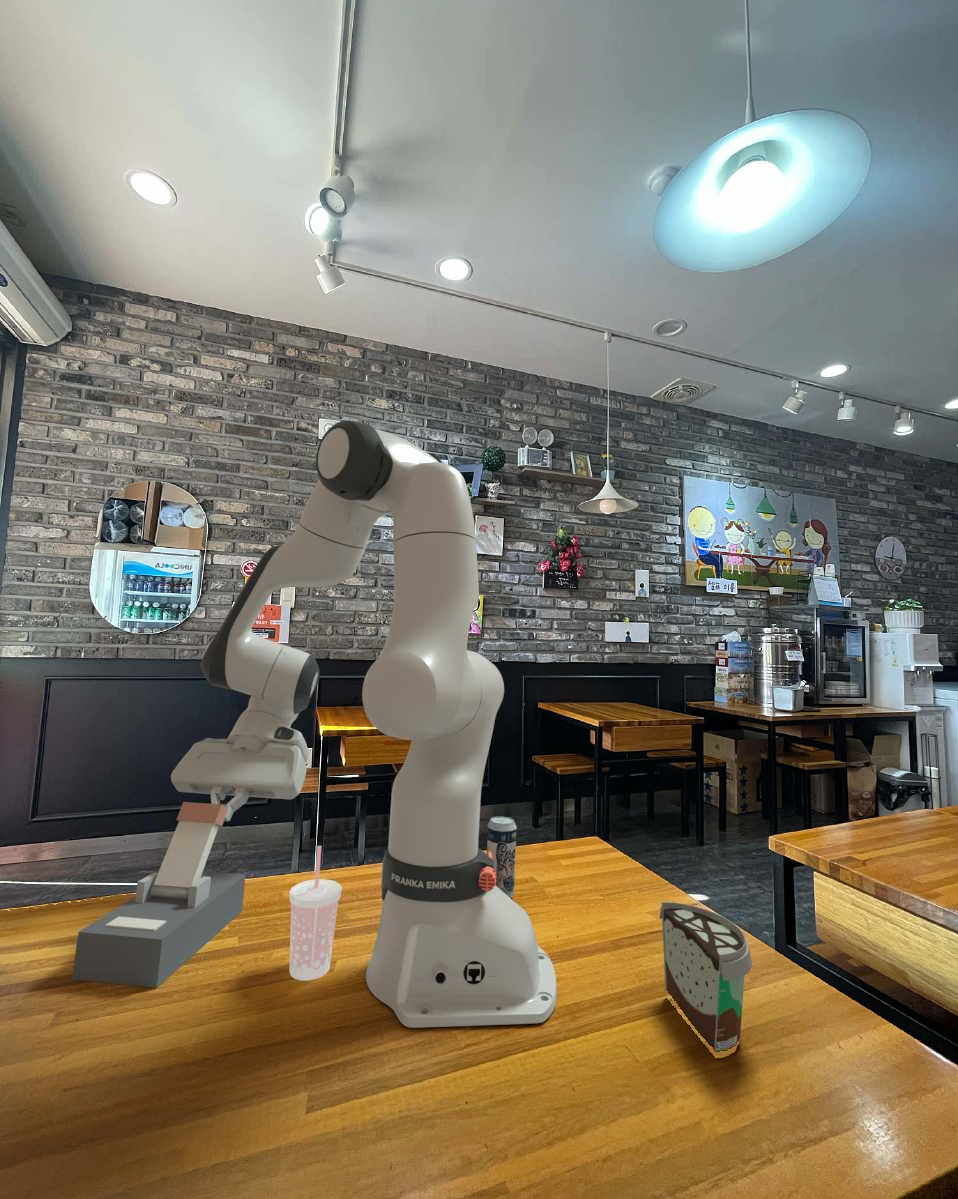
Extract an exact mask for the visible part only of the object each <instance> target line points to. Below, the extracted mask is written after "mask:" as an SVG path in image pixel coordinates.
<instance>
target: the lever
mask: <svg viewBox="0 0 958 1199" xmlns="http://www.w3.org/2000/svg"><path fill="white" fill-rule="evenodd" d="M220 804H221V803H220ZM220 804H211V803H203V802H192V801H191V802H190V801H189V802H188V801H183V802H182V805H181V807H180V810H179V811H178V812H179V813H178V814H177V817H176V821H178V824H177V825H176V828H175V830H174V833H173V834H172V838H171V840H170V844H169V845H168V848H167V850H166V853H165V856H164V858H163V861H162V863H161V865H160V867H159V870H158V872H157V873H158V875H157V878H156V880H155V883H154V886H153V887H152V889H151V896H157V897H169V898H181V899H188V896H189V887H190V885H192V884H193V883H195V882H196V881H198V880H199V879H200V878H201V875H202V872H203V871H204V869H205V866H206V864H207V861H208V857H209V854H210V852H211V850H212V846H213V844H214V842H215V838H216V835H217V834H218V833H217V832H218V830H219V827H223V825H224V823H225V821H224V819H225V817H226V814H227V811H228V809H227V808H226V807H224V806H223V805H224V804H221V805H220Z"/></svg>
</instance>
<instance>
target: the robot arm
mask: <svg viewBox="0 0 958 1199" xmlns="http://www.w3.org/2000/svg"><path fill="white" fill-rule="evenodd" d="M315 468H316V471H317V472H316V473H317V477H318V480H317V483H316V484H315V486H314V488H313V490H312V491H311V494H310V496H309V498H308V500H307V501H306V504H305V506H304V509H303V511H302V514H301V516H300V519H299V522H298V524H297V527H296V529H295V531H294V533H293V534H292V535H291V537H290V538H289V539H288V540H287V541H286V542H284V543H283V544H280V545H279V544H278V545H273V546H271V547H270V548H269V549H268V550H267V551H266V552H265V553H264V554H263V555H262V556H261V558H260V559H259V561H257V564H256V565H255V567H254V568H253V570H252V571H251V573H250V575H249V576H248V578H247V580H246V582H245V584H244V585H243V586H242V589H241V591H239V594H238V596H237V598H236V600H235V602H234V603H233V604H232V607H231V609H230V610H229V612H228V614H227V615H226V618H225V619H224V621H223V623H222V625H221V626H220V628H219V629H218V631H217V632H216V633H215V636H214V637H213V638H212V639H211V640H210V641H209V643H208V645H207V646H206V648H205V650H203V654H202V658H201V661H200V664H199V665H200V669H201V670H202V673H203V675H204V677H205V679H206V680H207V682H208V683H209V685H211V687H217V688H220V689H221V688H222V689H224V690H225V689H226V690H230V691H236V692H240V693H242V694H246V695H248V696H250V698H249V701H248V705H247V708H246V709H245V710H244V711H243V712H242V713H240V716H239V717H238V718H237V721H236V722H235V724H234V726H233V728H232V730H231V732H230V733H229V734H228V736H227V738H212V737H211V738H210V737H207V738H204V739H203V740H200V741H198V742H195V743H193V744H192V746H191V748H190V749H189V750H188V751H187V753H185V755H184V756H183V757H182V759H181V760H180V761H178V764H177V765H176V766H175V768H174V769H173V770H172V772H171V774H170V779H171V780H170V781H171V783H172V784H173V786H174V788H175V789H176V790H177V792H180V793H189V794H191V793H192V794H202V795H203V794H205V795H210V802H211V803H210V804H220V805H223V806H224V807H226V808H227V809H228V811H227V814H226V817H225V819H224V822H230V821H231V819H232V816H233V814H234V813H235V812H236V811H237V810H239V809H240V808H241V807H242V806H243V805H245V804H246V803H247V801H248V799H249V798H265V799H281V800H293V799H295V798H296V797H297V796H298V795H300V794H301V791H302V788H303V786H304V783H305V779H306V775H307V770H308V769H307V764H306V763H307V761H308V760H309V757H310V752H309V749H308V746H307V742H306V739H305V737H304V736H303V734H302V732H300V731H299V730H297V729H294V728H291V727H292V724H293V723H294V721H296V720H297V718H298V715H300V713H301V712H302V711H304V710H306V709H307V708H308V707H309V704H310V700H311V699H312V697H313V694H314V693H315V690H316V688H317V686H318V683H319V680H320V676H321V671H320V668H319V665H318V662H317V660H316V659H315V657H314V655H313V654H310V653H309V652H305V651H304V650H300V649H298V648H294V647H291V646H290V645H285V644H282V643H279V642H276V641H273V640H270V639H267V638H265V637H262V636H258V635H257V634H255V633H254V632H253V629H252V628H253V626H254V624H255V622H256V620H257V619H258V617H259V615H260V614H261V612H262V610H263V608H264V606H265V605H266V603H267V602H268V599H269V598H270V597H271V595H272V593H273V592H275V591H277V590H281V589H289V588H325V587H330V586H335V585H338V584H340V583H343V582H345V581H347V580H348V579H349V578H351V577H352V576H353V575H354V573H355V572H356V570H357V568H358V566H359V565H360V562H361V560H362V558H363V556H364V553H365V550H366V548H367V546H368V543H369V541H370V538H371V533H372V531H373V528H374V526H375V524H376V522H377V520H378V519H380V518H381V517H382V516H387V515H390V516H392V524H393V527H392V528H393V533H392V534H393V537H392V538H393V539H392V541H393V543H392V546H393V574H394V575H393V579H394V580H393V582H394V583H393V584H394V585H393V587H394V588H393V590H394V592H393V593H394V596H393V597H394V598H393V607H392V614H391V620H390V623H389V627H388V632H387V635H386V639H385V643H384V646H383V648H382V651H381V653H380V654H379V655H378V657H377V658H376V660H375V661H374V662H373V663H372V665H370V667H369V669H368V670H367V672H366V674H365V677H364V680H363V683H362V684H363V685H362V692H361V696H362V705H363V709H364V712H365V714H366V716H367V718H368V720H369V721H370V723H371V724H372V725H373V726H374V727H375V729H377V730H378V731H379V732H381V733H382V734H384V735H386V736H388V737H391V738H396V739H401V740H407V741H411V742H410V746H409V749H408V752H407V755H406V757H405V759H404V763H403V765H402V766H401V768H400V769H399V771H398V773H397V774H396V776H395V777H394V782H393V783H392V788H391V789H392V790H391V801H390V802H391V803H390V813H389V814H390V816H389V830H388V831H389V832H388V846H387V848H386V849H385V850H384V855H383V859H382V867H381V880H380V883H381V884H380V889H381V900H382V907H381V912H380V919H379V923H378V924H379V925H378V929H377V934H376V938H375V942H374V946H373V950H372V953H371V957H370V960H369V963H368V966H367V969H366V970H365V971H366V972H365V980H366V985H367V987H368V989H369V991H370V992H371V993H372V994H373V996H374V997H376V999H378V1000H380V1001H381V1002H382V1003H383V1004H385V1005H387V1006H388V1007H389V1008H390V1009H392V1010H393V1011H394V1013H395V1015H396V1018H397V1019H398V1021H399V1022H400V1023H401V1024H402V1025H403V1026H405V1027H407V1028H414V1029H416V1028H417V1029H418V1028H440V1027H441V1028H442V1027H443V1028H445V1027H448V1028H449V1027H470V1026H471V1027H472V1026H497V1025H500V1026H502V1025H521V1024H522V1025H527V1024H539V1023H540V1024H541V1023H544V1022H546V1020H547V1019H548V1018H550V1017H551V1015H552V1013H553V1011H554V1009H555V1006H556V1003H557V995H558V991H557V989H558V988H557V977H556V971H555V967H554V964H553V962H552V960H551V958H550V956H549V955H548V954H547V953H546V951H545V950H543V948H541V946H539V945H538V942H537V937H536V932H535V930H534V926H533V924H532V920H531V918H530V916H529V915H528V913H527V912H526V911H525V909H524V908H522V906H520V905H519V904H518V903H517V902H516V901H514V899H511V898H509V897H508V896H507V895H506V894H505V893H504V892H503V891H502V890H500V889H499V888H498V887H497V886H496V877H497V875H496V872H495V870H494V861H493V860H492V854H491V852H490V851H489V855H487V853H486V852H484V851H483V850H482V849H481V848H480V847H479V835H480V817H481V816H480V815H481V814H480V813H481V800H482V799H481V798H482V788H483V780H484V774H485V768H486V764H487V759H488V755H489V750H490V746H491V740H492V736H493V731H494V726H495V720H496V717H497V713H498V711H499V709H500V706H501V705H502V703H503V699H504V697H505V696H504V695H505V685H504V679H503V676H502V674H501V672H500V670H499V669H498V667H497V666H496V665H495V664H494V663H492V662H491V660H489V659H487V658H486V657H484V655H482V654H479V653H478V652H476V651H472V650H468V640H469V639H468V638H469V632H470V628H471V627H470V626H471V621H472V616H473V614H474V611H475V608H476V607H477V605H478V604H479V599H480V588H479V587H480V586H479V570H478V554H477V539H476V538H477V536H476V526H475V525H476V524H475V520H474V519H475V518H474V513H473V512H474V511H473V507H472V503H471V499H470V494H469V489H468V487H467V483H466V480H465V478H464V476H463V474H462V473H461V472H460V471H459V470H458V469H457V468H455V467H454V466H452V465H450V464H447V463H445V462H444V461H443V460H442V459H440V458H439V457H438V456H437V455H434V454H430V453H428V452H426V451H425V450H423V449H422V448H420V447H418V446H416V445H415V444H412V443H411V442H409V441H408V440H406V439H404V438H402V437H400V436H398V435H396V434H394V433H390V432H387V431H385V430H380V429H378V428H374V426H372V425H370V424H368V423H365V422H361V421H356V420H341V421H338V422H336V423H335V424H333V425H332V426H331V427H330V428H329V429H328V430H327V431H326V432H325V433H324V434H323V436H322V437H321V440H320V441H319V444H318V446H317V450H316V457H315ZM226 796H234V797H233V798H232V799H230V800H229V802H227V804H221V801H224V800H225V798H226Z"/></svg>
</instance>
